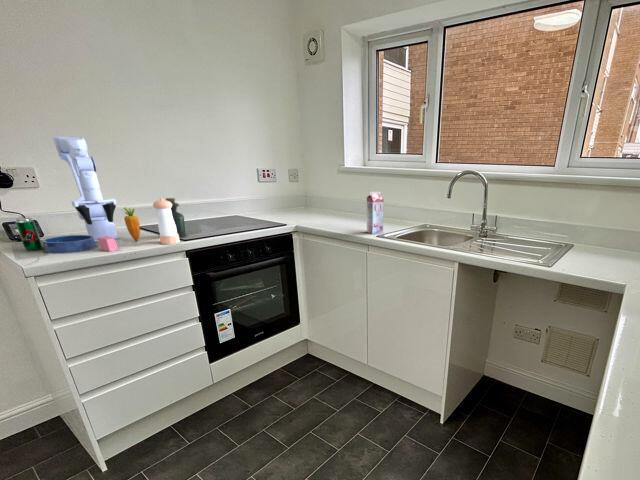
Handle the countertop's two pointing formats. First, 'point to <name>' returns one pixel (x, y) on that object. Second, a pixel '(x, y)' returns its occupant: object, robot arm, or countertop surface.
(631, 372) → the countertop surface
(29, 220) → the soda can
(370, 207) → the juice carton
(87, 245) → the bowl
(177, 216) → the green spray bottle
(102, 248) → the eraser
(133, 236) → the carrot
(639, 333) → the countertop surface
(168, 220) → the pepper shaker
